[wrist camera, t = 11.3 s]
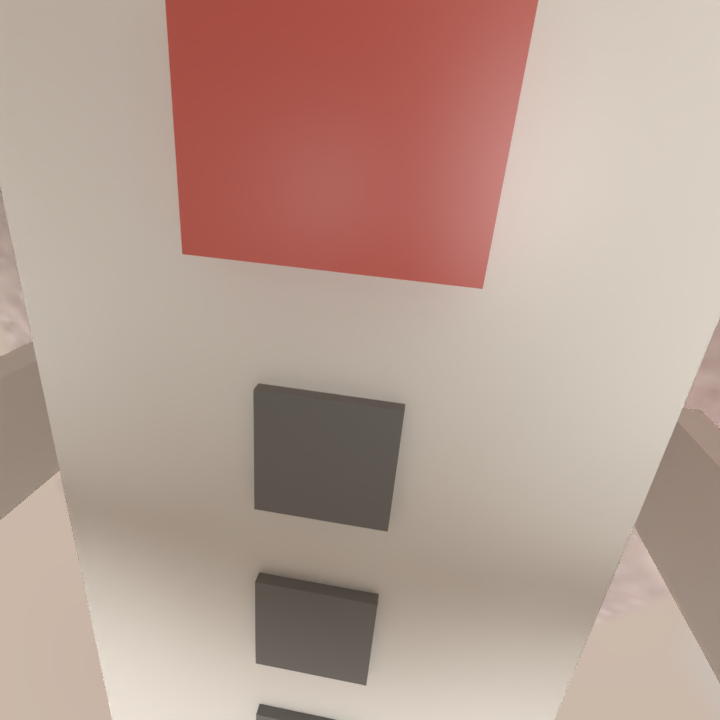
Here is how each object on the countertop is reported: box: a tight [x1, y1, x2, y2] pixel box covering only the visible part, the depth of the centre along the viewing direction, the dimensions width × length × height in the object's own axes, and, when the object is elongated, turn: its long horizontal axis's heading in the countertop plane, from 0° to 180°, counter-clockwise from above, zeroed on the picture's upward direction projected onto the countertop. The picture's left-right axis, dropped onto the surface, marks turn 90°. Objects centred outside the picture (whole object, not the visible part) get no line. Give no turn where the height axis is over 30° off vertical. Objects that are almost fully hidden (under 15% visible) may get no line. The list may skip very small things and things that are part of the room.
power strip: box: [0, 0, 720, 720], centre depth 11 cm, size 16×9×9 cm, turn 175°
